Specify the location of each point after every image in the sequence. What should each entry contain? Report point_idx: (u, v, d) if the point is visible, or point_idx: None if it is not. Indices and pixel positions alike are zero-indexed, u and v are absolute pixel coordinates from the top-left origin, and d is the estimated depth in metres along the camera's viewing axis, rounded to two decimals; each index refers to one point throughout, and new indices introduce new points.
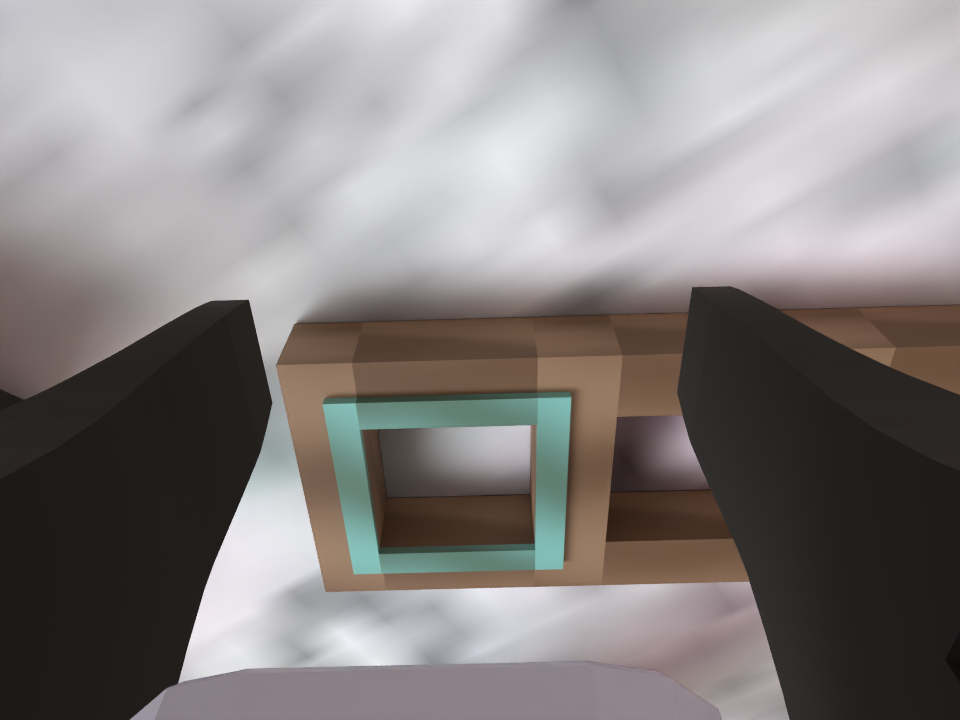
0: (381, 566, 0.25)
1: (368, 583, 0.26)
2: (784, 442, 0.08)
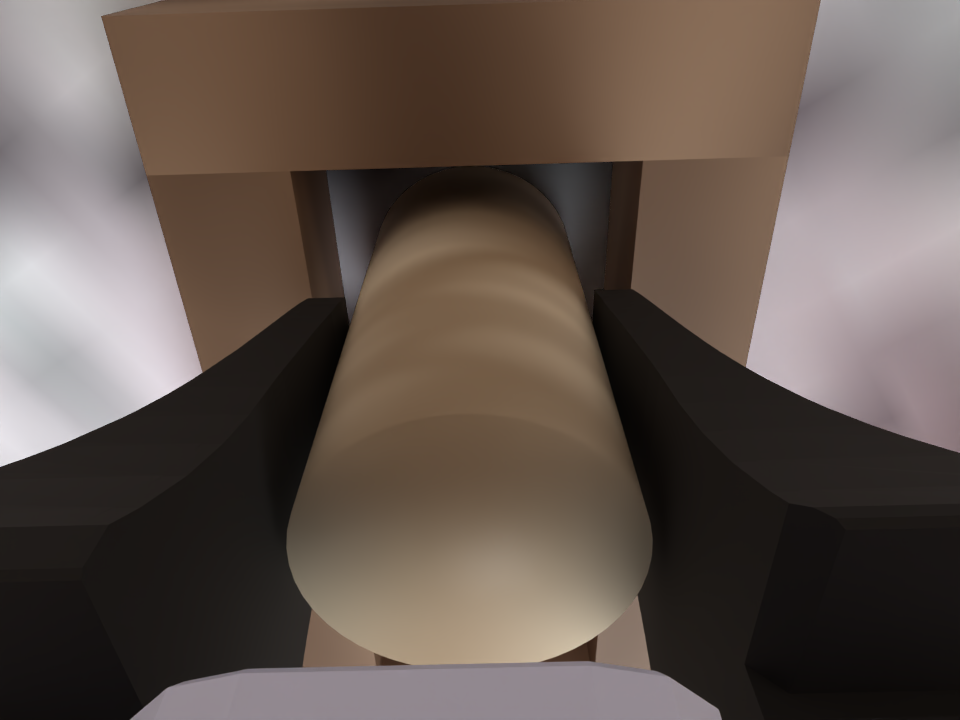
0: None
1: None
2: (652, 445, 0.08)
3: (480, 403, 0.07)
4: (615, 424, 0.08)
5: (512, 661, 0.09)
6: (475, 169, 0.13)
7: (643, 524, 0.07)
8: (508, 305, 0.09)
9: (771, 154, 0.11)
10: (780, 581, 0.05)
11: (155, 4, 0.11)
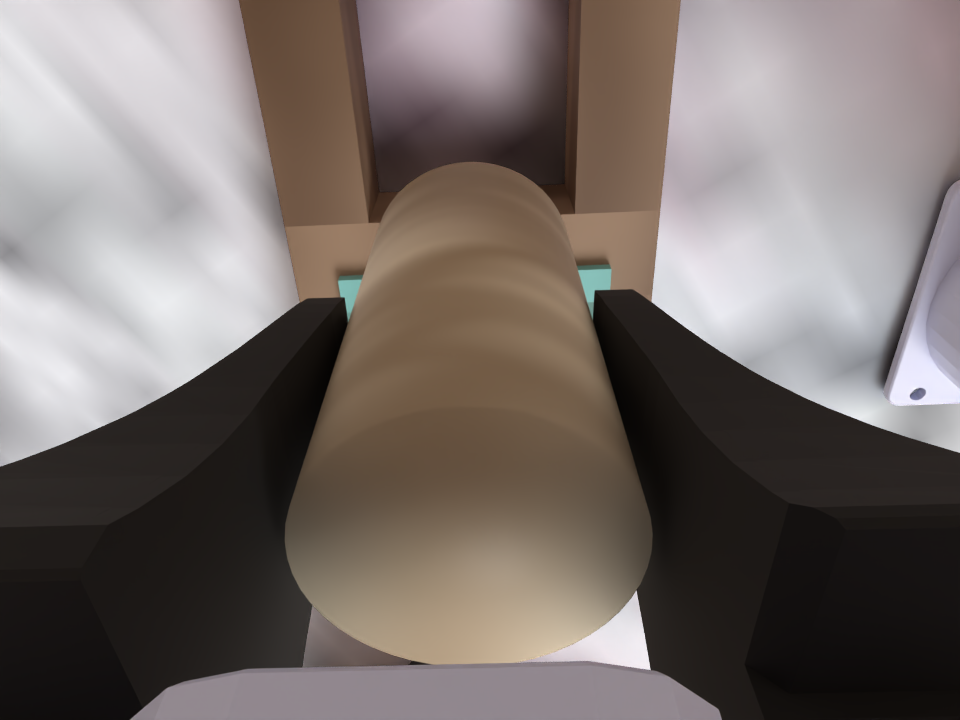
0: None
1: None
2: (652, 446, 0.08)
3: (480, 396, 0.07)
4: (615, 419, 0.08)
5: (510, 656, 0.09)
6: (475, 165, 0.13)
7: (643, 519, 0.07)
8: (508, 299, 0.09)
9: None
10: (779, 582, 0.05)
11: None
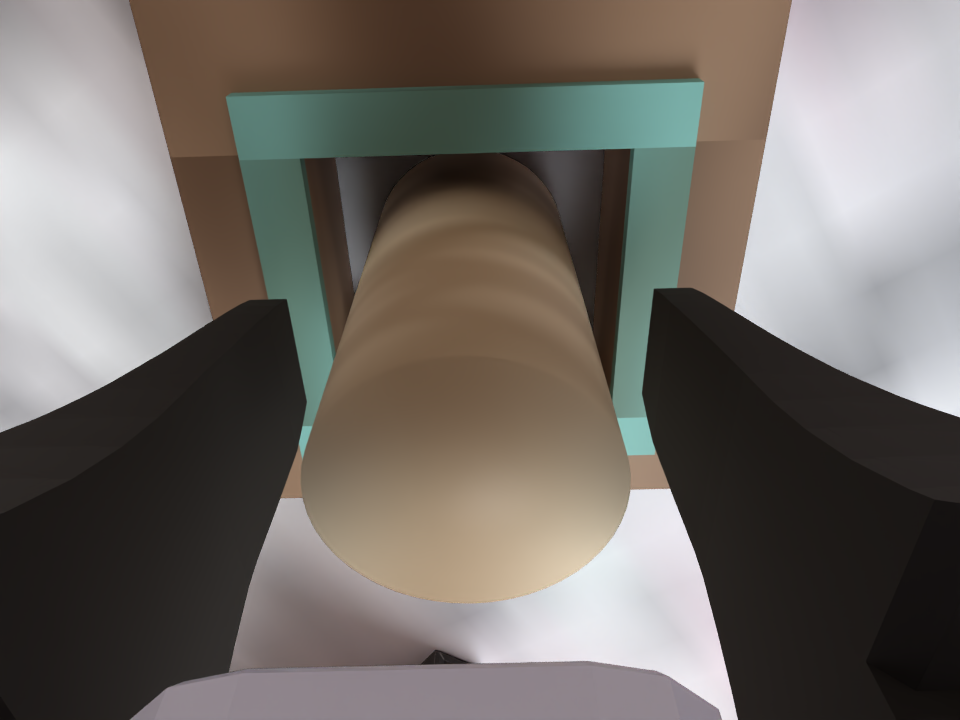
0: None
1: None
2: (732, 443, 0.08)
3: (475, 347, 0.08)
4: (598, 374, 0.09)
5: (504, 593, 0.10)
6: None
7: (622, 460, 0.08)
8: (502, 269, 0.09)
9: None
10: (914, 577, 0.05)
11: None
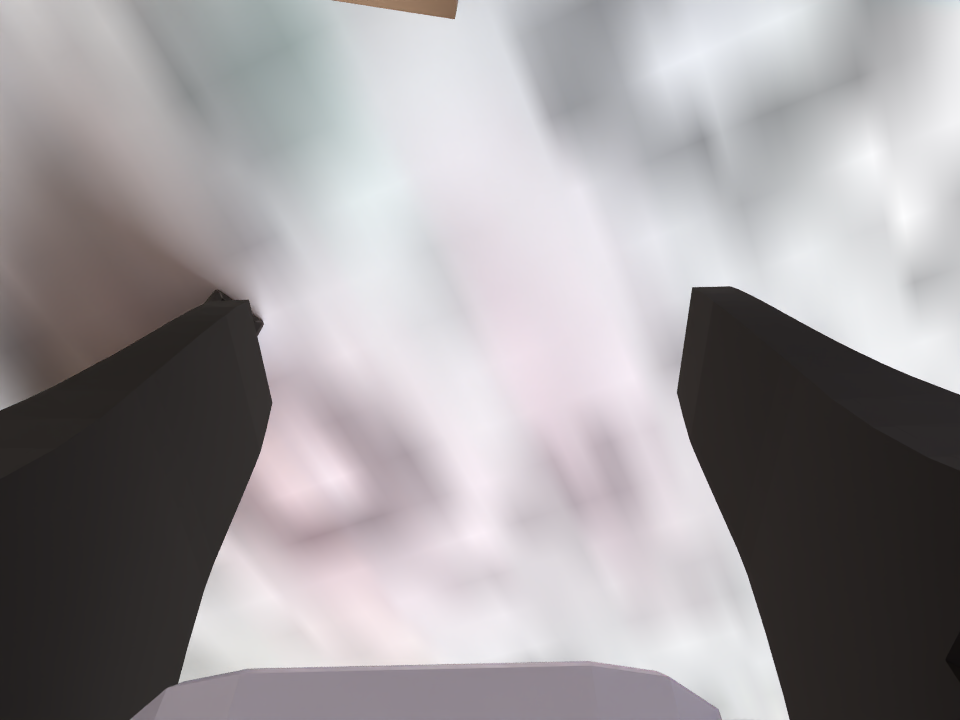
0: None
1: None
2: (784, 442, 0.08)
3: None
4: None
5: None
6: None
7: None
8: None
9: None
10: None
11: None
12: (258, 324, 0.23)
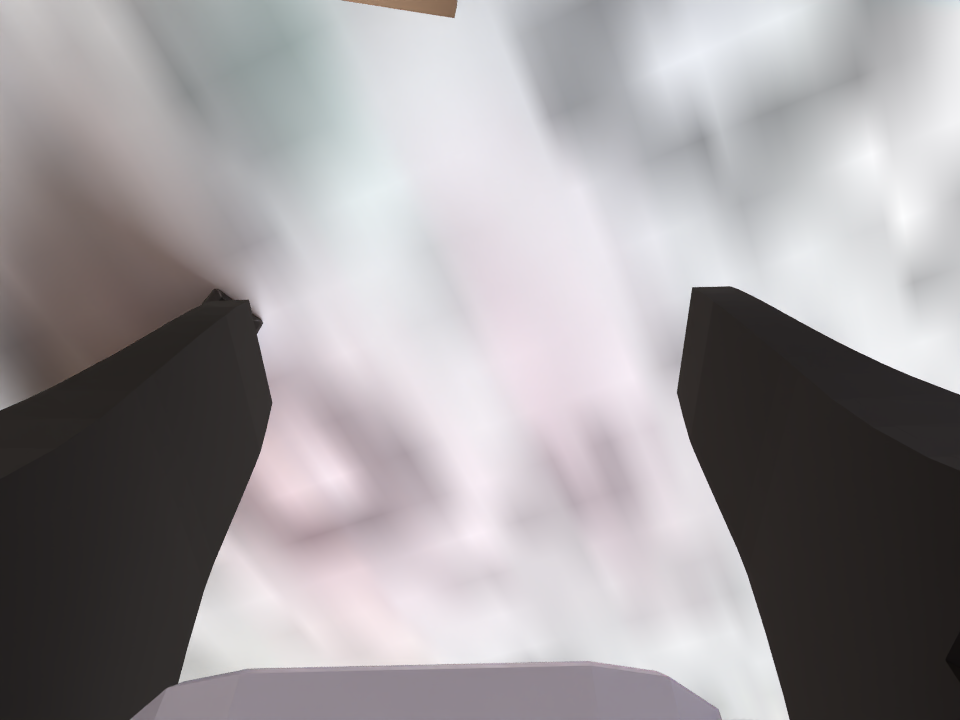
0: None
1: None
2: (784, 442, 0.08)
3: None
4: None
5: None
6: None
7: None
8: None
9: None
10: None
11: None
12: (256, 323, 0.23)
